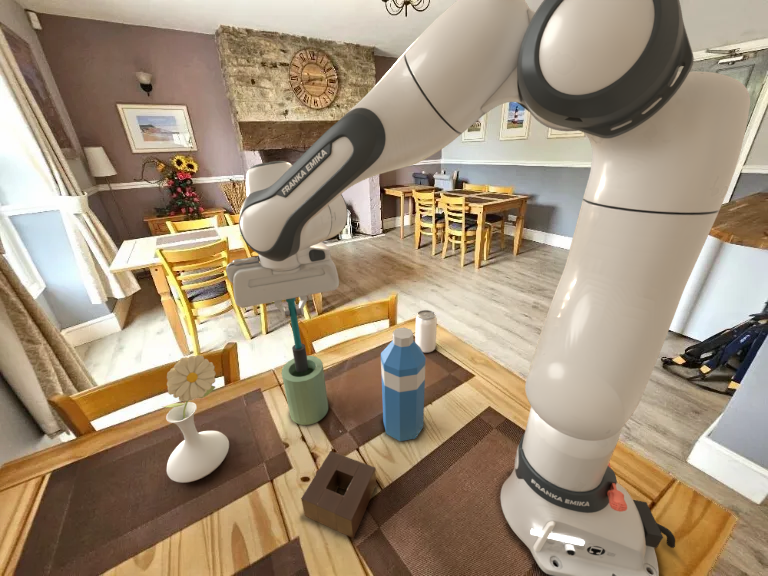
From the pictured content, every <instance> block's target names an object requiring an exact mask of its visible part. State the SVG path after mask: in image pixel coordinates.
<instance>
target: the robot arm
mask: <svg viewBox="0 0 768 576" xmlns="http://www.w3.org/2000/svg"><path fill="white" fill-rule="evenodd" d="M694 59H695V58H694V53H693V50H692V47H691V43H690V40H689V36H688V33H687V29H686V26H685V22H684V19H683V11H682V6H681V2H680V0H542V2H541V3H540V5H539V6H538V7H537V9H536V11H534V10H533V9H531V7H529V4H528V3H527V1H526V0H455V2H453V3H452V4H451V5H450V6H449V7H447V8H446V10H444V11H443V12H442V13H441V14H440V15H438V16H437V18H435V20H433V21H432V23H430V24H429V26H427V27H426V28H425V30H424V31H422V33H420V34H419V36H418V37H417V38H416V39H415V40H414V41H413V42H412V43H411V44H410V46H409V47H408V48H407V49H406V50H405V51H404V52H403V54H402V55H401V56H400V57H399V58H398V59H397V60H396V61H395V63H394V64H393V65H392V66H391V68H389V70H388V71H387V72H386V73H385V74H384V75H383V76H382V78H380V79H379V81H378V82H377V83H376V84H375V85H374V86H373V87H372V88H371V89H370V90H369V91H368V92H367V94H365V96H363V97H362V99H360V101H358V102H357V103H356V104H355V105H354V106H353V107H351V108H350V109H349V110H348V111H347V112H346V113H345V114H344V115H343V116H342V117H341V118H340V119H338V120H337V122H335V123H334V124H333V125H331V126H330V127H329V128H328V129H327V130H326V131H325V132H324V133H323V134H322V135H321V136H320V137H318V139H317V140H316V141H315V142H314V143H312V145H311V146H310V147H309V148H308V149H307V150H306V151H305V152H304V153H303V154H302V155H301V156H300V157H299V158H298V159H297V160H296V161H295V162H293V164H292V163H290V162H288V161H284V160H276V161H275V160H273V161H269V162H262V163H258V164H255V165H253V166H251V167H250V168H248V170H247V171H246V176H245V189H246V190H245V191H246V197H245V199H244V200H243V203H242V204H241V205H242V206H241V207H240V208H241V209H240V211H239V217H238V227H239V232H240V235H241V237H242V240H243V241H244V243H245V244H246V245H247V246H248V247H249V248H250V249H251V250H252V251H253V252H255V253H256V254H258V255H256V256H249V257H244V258H236V259H233V260H232V261H231V262H229V263H228V264H227V265H226V267H225V273H226V276H227V279H228V281H229V282H230V283H232V287H233V297H234V303H235V305H236V306H238V307H239V308H241V309H244V308H249V307H254V306H259V305H264V304H270V303H274V306H275V308H277V310H279V311H280V312H281V315H282V318H283V320H284V319H290V311H289V307H288V306H286V307H284V305H283V301H284V300H285V301H286V299H291V298H296V299H297V298H299V302H298V304H295V307H296V314H297V317H299V316H303V315H305V310H304V308H305V306H306V304H307V302H308V296H310V295H311V296H312V295H317V294H323V293H328V292H332V291H337V289H338V288H339V286H340V279H339V273H338V270H337V265H336V263H335V262H334V261H333V260H332V259H331V257H332V253H331V250H330V248H329V247H328V246H327V244H326V243H324V242H325V241H327V240H329V239H332V238H334V237H336V236H337V235H338V234H340V233H342V232H343V231H344V229H345V228H346V225H347V222H348V215H349V212H348V206H347V202H346V199H345V198H344V195H343V193H344V192H346V191H347V190H349V189H350V188H351V187H353V186H355V185H357V184H359V183H360V182H363V181H365V180H368V179H370V178H373V177H375V176H378V175H381V174H385V173H388V172H392V171H396V170H399V169H403V168H407V167H410V166H413V165H416V164H419V163H421V162H422V161H424V160H426V159H428V158H430V157H432V156H434V155H435V154H436V153H438V152H440V151H441V150H443V149H444V148H446V147H448V145H450V144H451V143H452V142H454V141H455V140H456V139H458V138H459V137H460V136H461V135H462V134H463V133H465V132H466V131H467V130H468V129H469V128H470V127H472V125H474V124H475V123H476V122H477V121H478V120H480V119H481V118H482V117H484V116H485V115H487V113H489V112H490V111H492V110H493V109H495V108H497V107H499V106H501V105H504V104H506V103H517V104H518V105H519V106H521V107H522V108H523V109H525V110H526V111H527V112H528V113H530V115H531V116H532V117H533V118H534V119H535V120H536V121H537V122H538V123H540V124H541V125H542V126H545V128H548V129H552V130H554V131H559V132H577V131H578V132H582V133H583V134H584V135H585V136H586V137H587V138H588V140H589V143H590V146H591V163H590V170H589V176H588V179H587V182H586V186H585V190H584V192H583V198H582V200H581V204H580V209H579V213H578V216H577V220H576V224H575V227H574V232H573V235H572V238H571V243H570V247H569V250H568V254H567V258H566V262H565V265H564V267H563V268H564V269H563V270H562V274H561V276H560V279H559V281H558V284H557V287H556V289H555V292H554V295H553V297H552V300H551V302H550V305H549V308H548V309H547V310H548V311H547V313H546V316H545V319H544V322H543V325H542V328H541V330H540V334H539V337H538V339H537V343H536V346H535V349H534V353H533V355H532V359H531V361H530V363H529V364H530V365H529V368H528V371H527V375H526V379H525V384H524V385H525V387H524V389H525V390H524V391H525V396H526V398H527V401H528V403H529V405H530V409H529V413H528V418H527V421H526V426H525V430H524V433H523V434H522V435H521V437H520V439H519V443H518V445H517V448H516V452H515V458H514V467H513V470H512V472H511V473H510V475H509V476H508V477H507V478H506V479H505V481H504V482H503V484H502V486H501V489H500V497H499V498H500V506H501V510H502V513H503V516H504V518H505V521H506V522H507V524H508V525H509V527H510V529H511V530H512V531H513V533H514V534H515V535H516V536H517V537H518V538H519V539H520V541H521V542H522V543H523V544H524V545H525V546H526V547H527V548H528V549H529V551H530V553H531V555H532V556H533V559H534V560H535V562H536V564H537V565H538V567H539V568H540V570H541V571H542V572H543V573H545V574H547V575H549V576H659V575H660V571H659V563H658V557H657V553H656V550H655V549H657V548H658V547H659V545H660V543H661V541H662V540H663V538H664V536H665V537H666V545H667V546H668V547H669V548H671V549H674V548H676V537H675V535H674V533H673V532H672V531H671V530H670V529H668V528H667V527H666V526H663V525H662V524H660V523H658V522H657V521H656V519H655V516H654V515H653V513H652V510H651V509H650V507H649V504H648V503H647V502H646V501H642V500H637V499H633V497H632V496H631V493H629V492H628V490H627V489H626V488H625V487H624V486H623V485H622V484H620V483H619V482H618V479H617V475H616V473H615V471H614V470H613V469H612V466H611V462H610V461H611V459H612V456H613V454H614V451H615V450H616V447H617V444H618V442H619V440H620V437H621V434H622V430H623V428H624V427H625V425H626V424H627V423H628V422H629V420H630V419H631V417H632V416H633V414H634V413H635V412H636V410H637V408H638V406H639V404H640V403H641V400H642V398H643V395H644V393H645V391H646V388H647V386H648V384H649V381H650V379H651V376H652V374H653V371H654V369H655V367H656V363H657V361H658V358H659V356H660V354H661V351H662V349H663V346H664V344H665V341H666V338H667V336H668V333H669V330H670V328H671V326H672V323H673V320H674V318H675V315H676V313H677V309H678V306H679V304H680V302H681V299H682V295H683V293H684V291H685V288H686V285H688V281H689V279H690V277H691V275H692V273H693V271H694V268H695V266H696V264H697V262H698V259H699V257H700V254H701V252H702V250H703V248H704V246H705V243H706V242H707V240H708V237H709V235H710V232H711V230H712V228H713V226H714V223H715V221H716V219H717V217H718V214H719V212H720V210H721V208H722V205H723V203H724V200H725V198H726V196H727V193H728V191H729V189H730V186H731V183H732V179H733V177H734V175H735V171H736V167H737V165H738V161H739V158H740V155H741V151H742V148H743V143H744V139H745V135H746V130H747V125H748V120H749V114H750V108H751V96H750V92H749V90H748V89H747V87H746V86H745V85H744V84H743V82H741V81H739V80H738V79H737V78H734V77H732V76H729V75H727V74H723V73H720V72H713V71H691V70H692V68H693V65H694ZM681 67H682V69H681V71H679V69H680V68H681ZM663 535H664V536H663ZM556 565H557V566H556Z"/></svg>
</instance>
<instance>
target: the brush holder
mask: <svg viewBox="0 0 768 576" xmlns="http://www.w3.org/2000/svg"><path fill="white" fill-rule="evenodd" d="M376 472H377V471H376V467H375V466H372V465H369V464H367V463H364V462H361V461H359V460H356V459H353V458H351V457H348V456H345V455H342V454H340V453H337V452H334V451H332V450H330V451H329V452H328V454H327V455H326V457H325V459H324V460H323V463H322V464H321V465H320V467H319V468H318V470H317V472H316V474H315V475H314V477H313V478H312V480H311V481H310V483H309V484H308V486H307V488H306V489H305V492H304V493H303V494H302V496H301V498H300V499H301V504H302V509H303V513H304V517H307V518H308V519H311V520H313V521H314V522H317V523H319V524H321V525H323V526H326V527H328V528H330V529H332V530H334V531H336V532H339V533H341V534H343V535H345V536H347V537H349V538H351V539H355V536H356V533H357V532H358V529H359V527H360V524H361V522H362V520H363V517H364V515H365V512H366V511H367V508H368V505H369V503H370V501H371V499H372V496H373V494H374V491H375V489H376V487H377V473H376ZM339 488H340V489H343V490H345V492H344V495H343V494H341V493H338V492H337V491H338V490H339Z"/></svg>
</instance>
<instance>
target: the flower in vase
mask: <svg viewBox="0 0 768 576" xmlns="http://www.w3.org/2000/svg"><path fill="white" fill-rule="evenodd" d="M216 375H217V373H216V371H215V365H214V363H213V362H212V361H209V359H208V358H205V357H204V356H203V355H199V354H197V355H190V356H188V357H187V356H186V357H181V358H180V359H179V360H178V361H177V362H176V363H175V364H174V366H173V367H172V368H170V370H169V371H167V374H166V380H167V382H166V386H167V393H168V395H170V396H171V395H173V396H172V397H173V398H175V399H177V398H178V401H179V402H176V403H170V404H167V405H165V406H163V405H161V407H163V408H166V409H170V410H169V411H168V413H167V414H166V417H165V419H166V421H167V422H168V423H171V424H174V425H176V426H177V427H178V428H179V430H180V431H181V433H182V435H183V438H184V439H183V440H182V441H181V442H180V443H179V444H178V445H177V446H176V447H175V448H174V450H173V451H172V452H171V453H170V456H169V457H168V460H167V463H166V474H167V476H168V478H169V479H170V480H171V481H174V482H176V483H192V482H195V481H198V480H200V479H203V478H205V477H207V476H208V475H210V474H211V473H213V472H214V471H215V470H216V469H218V467H220V465H221V464H222V462H223V461H224V460H225V458H226V457H227V454H228V452H229V448H230V441H229V438H228V437H227V436H226V435H225V434H224V433H223V432H221V431H218V430H203V431H199V432H198V430H197V428H196V425H195V419H194V417H195V413H196V411H197V404H196V403H195V402H192V400H197V399H203V398H205V397H207V396H208V395H210V393H212V392H213V391H214V390H215V388H216V386H215V385H214V384H215V383H216V378H215V376H216ZM183 401H184V402H183Z"/></svg>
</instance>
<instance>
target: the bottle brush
mask: <svg viewBox="0 0 768 576" xmlns="http://www.w3.org/2000/svg"><path fill="white" fill-rule="evenodd" d="M296 300H297V297H296V298H291V299H286V300H285V302H286V303H287V307H288V308H289V311H290V317H289V319H290V325H291V330H292V335H293V342H294V345H292V348H291V349H292V350H291V351H292V356H293V359H294V361H295V367H296V371H297V372H305V371H307V370H308V361H307V356H308V355H307V350H306V344H304V343H302V339H301V333H300V326H299V321H298V319H299V318H298V316H297V314H296V307H295V305H296Z"/></svg>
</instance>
